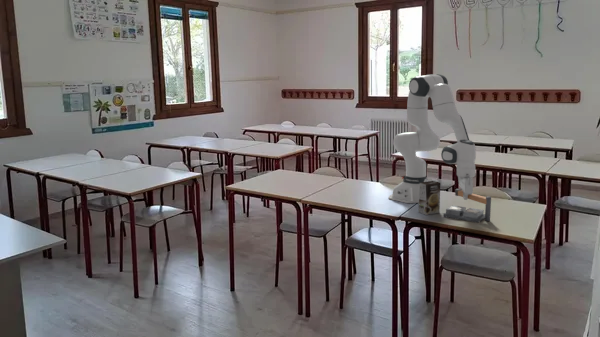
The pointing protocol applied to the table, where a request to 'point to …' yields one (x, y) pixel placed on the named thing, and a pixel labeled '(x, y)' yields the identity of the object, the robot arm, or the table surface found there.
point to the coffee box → (429, 197)
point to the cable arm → (479, 199)
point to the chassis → (464, 213)
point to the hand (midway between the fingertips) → (465, 199)
